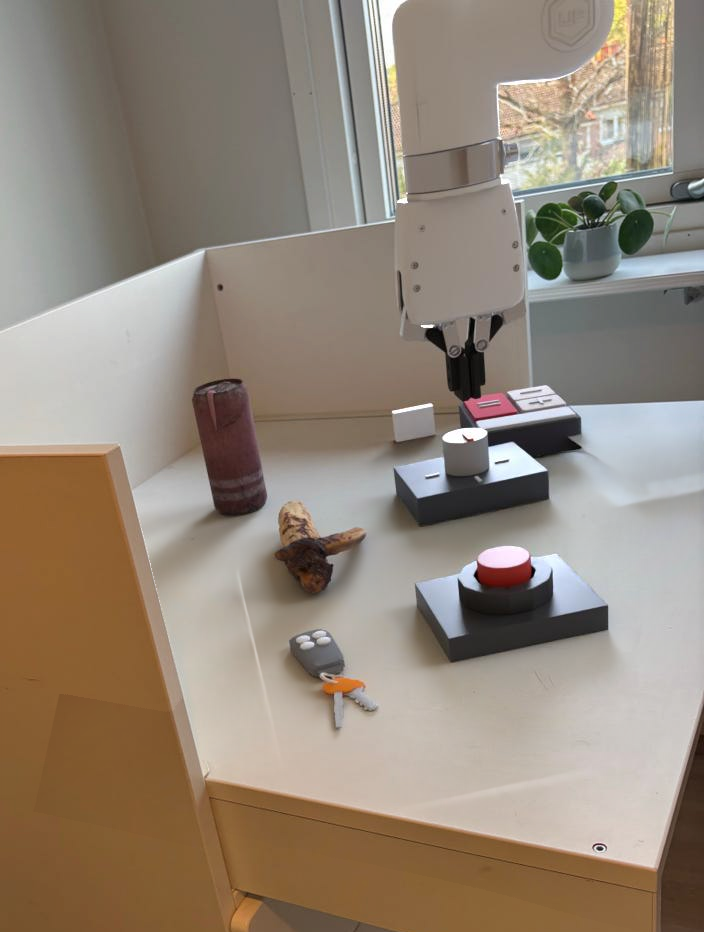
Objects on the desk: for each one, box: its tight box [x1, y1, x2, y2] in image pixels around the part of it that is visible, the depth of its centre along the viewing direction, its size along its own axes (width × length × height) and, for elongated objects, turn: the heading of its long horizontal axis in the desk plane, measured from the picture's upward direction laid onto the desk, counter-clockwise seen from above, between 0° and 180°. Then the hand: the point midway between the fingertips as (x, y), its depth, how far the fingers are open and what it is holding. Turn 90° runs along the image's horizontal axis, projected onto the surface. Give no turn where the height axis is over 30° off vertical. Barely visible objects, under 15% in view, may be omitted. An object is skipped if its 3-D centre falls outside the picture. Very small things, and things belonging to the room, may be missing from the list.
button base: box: [414, 552, 609, 664], centre depth 75 cm, size 12×10×4 cm
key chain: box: [288, 628, 380, 729], centre depth 73 cm, size 13×4×2 cm, turn 13°
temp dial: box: [441, 428, 489, 476], centre depth 97 cm, size 4×4×4 cm
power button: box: [476, 545, 532, 587], centre depth 74 cm, size 4×4×2 cm
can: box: [191, 377, 268, 517], centre depth 106 cm, size 6×6×14 cm
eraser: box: [391, 402, 437, 443], centre depth 118 cm, size 1×5×4 cm, turn 91°
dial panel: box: [392, 442, 550, 527], centre depth 98 cm, size 13×10×3 cm
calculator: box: [458, 385, 583, 458], centre depth 110 cm, size 11×4×15 cm
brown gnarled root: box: [274, 500, 367, 594], centre depth 92 cm, size 9×5×18 cm
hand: (467, 396), depth 86 cm, fingers closed
